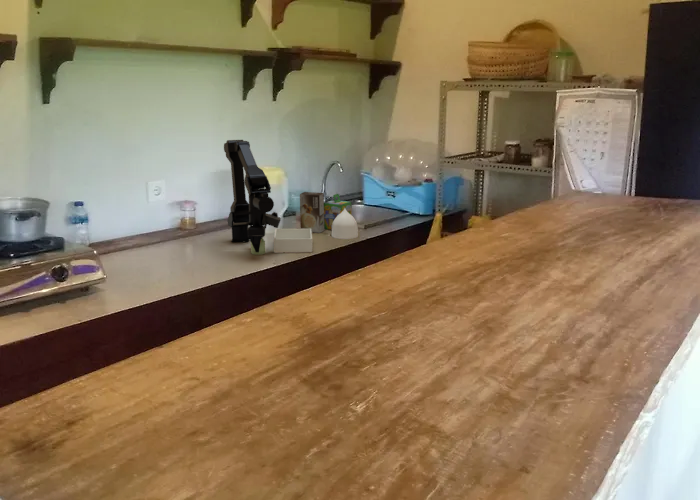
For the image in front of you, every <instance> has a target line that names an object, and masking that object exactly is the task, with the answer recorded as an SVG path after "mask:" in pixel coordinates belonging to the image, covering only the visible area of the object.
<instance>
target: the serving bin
mask: <svg viewBox="0 0 700 500" xmlns="http://www.w3.org/2000/svg"><path fill="white" fill-rule="evenodd" d="M273 235H274V237H273V253H276V254H277V253H283V252H285V253H313V232H312V231H311V229H301V228H275V229H274V234H273Z"/></svg>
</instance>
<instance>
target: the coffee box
mask: <svg viewBox="0 0 700 500" xmlns="http://www.w3.org/2000/svg"><path fill="white" fill-rule="evenodd" d="M324 203H325V193H324V192H316V191H315V192H313V191H312V192H311V191H310V192H309V191H304V192H301V193H300V194H299V215H300V216H299V220H300V221H299V222H300V225H299V227H300V229H311V231H312V233H317V234H318V233H320V234H321V233H322V232H324V231H325V230H326V229H324Z"/></svg>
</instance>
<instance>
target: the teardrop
mask: <svg viewBox="0 0 700 500" xmlns="http://www.w3.org/2000/svg"><path fill="white" fill-rule="evenodd" d="M358 229H359V228H358V223H357V221H356V219H355V217H354V216H353V215H352V213H351V214H349V213H348V212H347V211H346V209H345V208H344V210H343V211H342V212H341V213H340V214H339V215H338V216H337V217H336V218H335V219H334V221H333V223H332V230H331V237H332V238H333V239H340V240H350V239H351V240H352V239H356V238H358V237H359V231H358Z"/></svg>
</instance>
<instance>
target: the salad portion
mask: <svg viewBox="0 0 700 500" xmlns="http://www.w3.org/2000/svg"><path fill="white" fill-rule="evenodd" d="M250 254H251V255H257V256H258V255H259V256H260V255H264V254H266V240H264V237H263V238H262V239H261V242H260V248H259V252H256V251H255V249H254V247H253V245H252V243H251V242H250Z"/></svg>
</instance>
